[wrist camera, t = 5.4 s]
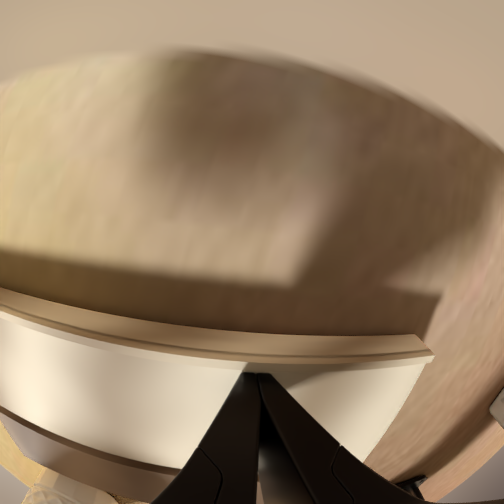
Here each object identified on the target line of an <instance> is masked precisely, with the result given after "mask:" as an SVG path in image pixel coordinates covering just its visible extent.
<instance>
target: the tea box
mask: <svg viewBox="0 0 504 504" xmlns="http://www.w3.org/2000/svg"><path fill="white" fill-rule="evenodd" d="M489 409H490V413H491V415H492V416H493V417H494V418H495V419H496V421H497V422H498V423H499V424H500V425H501V427H502V428H503V429H504V388H503V390H502V391H501V393H500V394H499V395H498V397H497V398H496V400H495V401H494V402H493V404H492V405H491V406H490V408H489Z"/></svg>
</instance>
